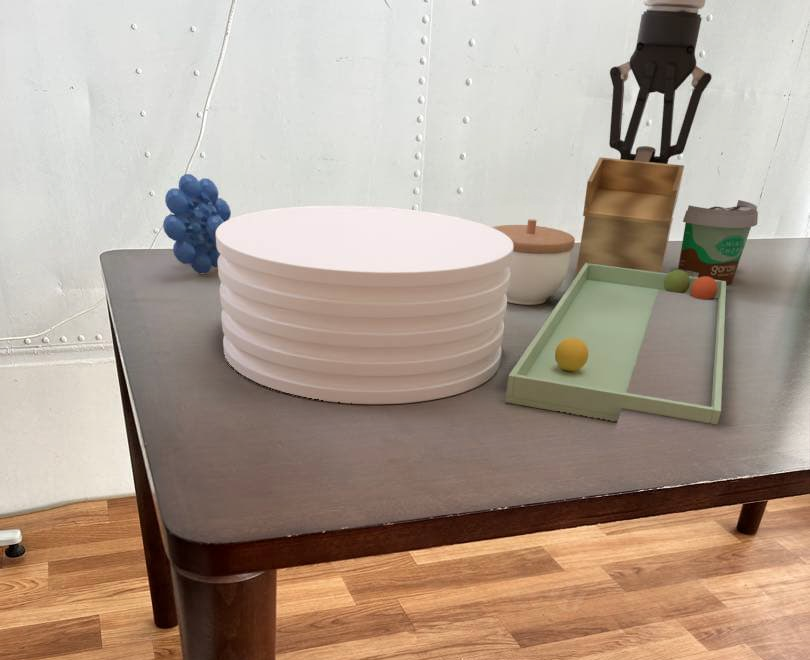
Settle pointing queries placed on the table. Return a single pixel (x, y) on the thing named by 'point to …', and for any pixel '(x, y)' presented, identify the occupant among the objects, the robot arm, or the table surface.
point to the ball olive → (677, 281)
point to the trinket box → (536, 261)
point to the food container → (716, 240)
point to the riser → (623, 244)
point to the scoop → (633, 189)
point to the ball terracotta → (704, 288)
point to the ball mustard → (571, 354)
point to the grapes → (195, 221)
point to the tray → (605, 349)
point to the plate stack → (363, 302)
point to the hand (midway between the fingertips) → (635, 205)
